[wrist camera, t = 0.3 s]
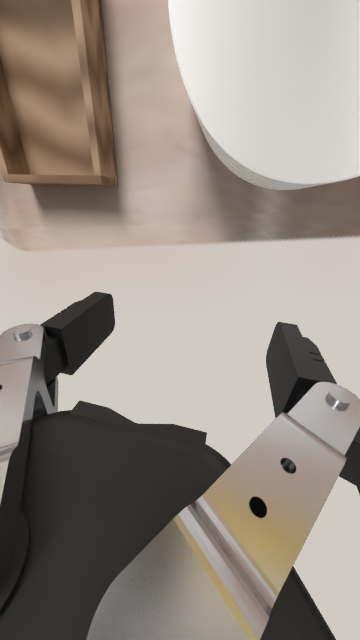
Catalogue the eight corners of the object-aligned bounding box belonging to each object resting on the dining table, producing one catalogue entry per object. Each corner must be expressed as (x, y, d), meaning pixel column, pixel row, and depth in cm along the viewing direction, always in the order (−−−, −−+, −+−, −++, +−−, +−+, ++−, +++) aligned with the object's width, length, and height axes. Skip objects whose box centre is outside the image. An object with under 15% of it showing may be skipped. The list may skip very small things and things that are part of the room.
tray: (-29, -51, 26) (-79, -100, 22) (94, -73, 24) (63, -134, 20) (30, 184, 38) (4, 182, 34) (117, 186, 35) (101, 184, 31)
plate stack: (260, 232, 34) (271, 244, 25) (145, 34, 27) (95, -62, 17) (516, 57, 22) (741, -57, 13) (436, -384, 15) (833, -1515, 5)
